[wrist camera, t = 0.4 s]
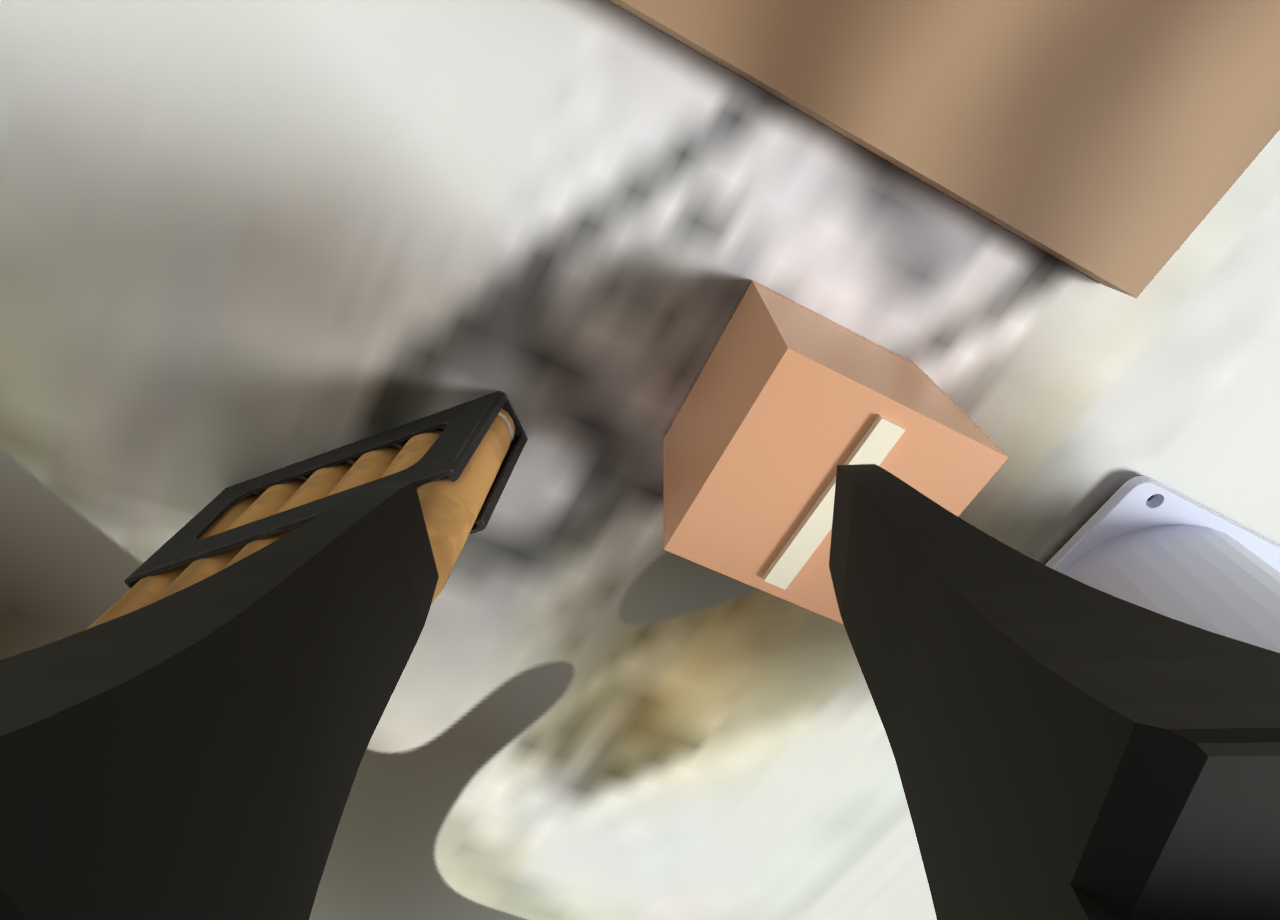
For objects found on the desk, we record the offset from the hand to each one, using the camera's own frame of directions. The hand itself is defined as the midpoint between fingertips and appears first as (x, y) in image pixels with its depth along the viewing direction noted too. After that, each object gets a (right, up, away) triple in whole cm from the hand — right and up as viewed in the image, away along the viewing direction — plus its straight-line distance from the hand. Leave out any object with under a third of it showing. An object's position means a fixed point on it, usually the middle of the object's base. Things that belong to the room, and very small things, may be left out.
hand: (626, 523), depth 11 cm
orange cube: (+5, +3, +9) cm, 11 cm away
